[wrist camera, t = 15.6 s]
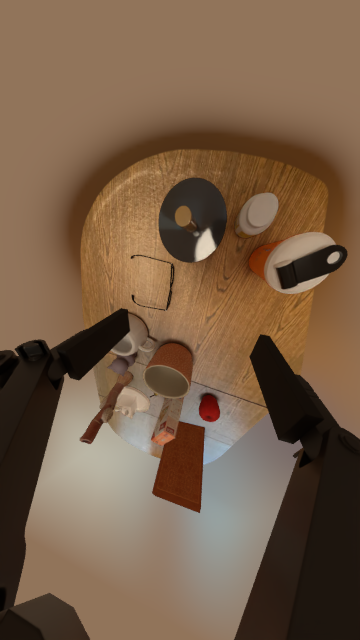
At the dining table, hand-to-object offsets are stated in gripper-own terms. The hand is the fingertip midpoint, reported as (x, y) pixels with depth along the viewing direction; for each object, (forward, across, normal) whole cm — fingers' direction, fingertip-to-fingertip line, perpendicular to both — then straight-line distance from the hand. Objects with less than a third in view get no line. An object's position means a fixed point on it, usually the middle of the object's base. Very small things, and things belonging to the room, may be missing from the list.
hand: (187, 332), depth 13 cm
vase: (+32, -33, -58) cm, 74 cm away
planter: (+32, -7, -34) cm, 47 cm away
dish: (+32, -33, -81) cm, 93 cm away
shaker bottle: (+32, +15, +7) cm, 36 cm away
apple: (+32, +13, -58) cm, 68 cm away
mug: (+32, -25, -26) cm, 48 cm away
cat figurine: (+32, -29, -40) cm, 59 cm away
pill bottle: (+32, +8, +14) cm, 36 cm away
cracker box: (+32, -5, -62) cm, 70 cm away
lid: (+22, -4, +12) cm, 26 cm away
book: (+32, +5, -95) cm, 101 cm away
